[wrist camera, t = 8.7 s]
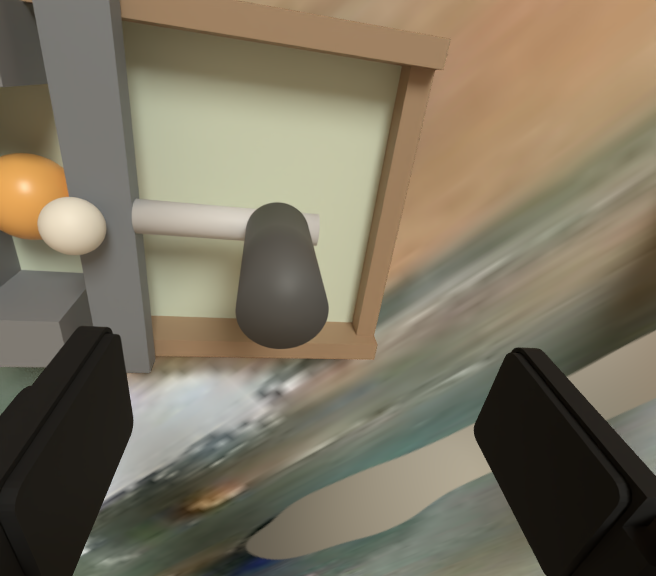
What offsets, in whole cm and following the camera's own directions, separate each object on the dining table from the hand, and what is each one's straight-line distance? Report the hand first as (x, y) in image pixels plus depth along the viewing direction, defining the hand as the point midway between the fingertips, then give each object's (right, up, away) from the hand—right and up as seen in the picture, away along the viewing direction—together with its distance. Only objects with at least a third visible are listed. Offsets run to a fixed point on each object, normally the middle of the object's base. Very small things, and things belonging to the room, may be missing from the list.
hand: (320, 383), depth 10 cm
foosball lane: (-7, +8, +13) cm, 16 cm away
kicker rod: (-7, +7, +12) cm, 15 cm away
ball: (-14, +7, +9) cm, 18 cm away
